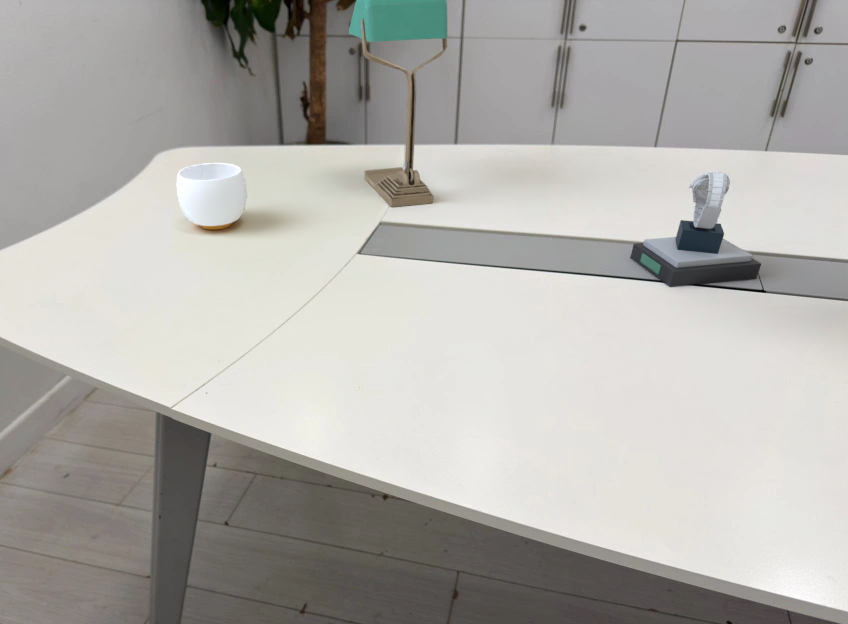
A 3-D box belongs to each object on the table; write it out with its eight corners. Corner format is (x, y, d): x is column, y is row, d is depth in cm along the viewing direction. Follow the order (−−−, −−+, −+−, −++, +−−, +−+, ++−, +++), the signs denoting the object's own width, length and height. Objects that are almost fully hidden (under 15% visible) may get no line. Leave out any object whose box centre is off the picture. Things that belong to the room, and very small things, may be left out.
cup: (191, 241, 116) (183, 185, 111) (175, 219, 126) (167, 167, 120) (258, 229, 120) (254, 175, 115) (238, 209, 130) (233, 158, 124)
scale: (710, 250, 109) (716, 230, 107) (756, 278, 100) (764, 257, 98) (628, 257, 107) (633, 237, 105) (668, 286, 98) (674, 265, 96)
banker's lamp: (372, 208, 129) (375, -2, 109) (346, 178, 146) (344, -9, 126) (450, 201, 132) (466, -5, 112) (415, 172, 148) (423, -12, 129)
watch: (713, 238, 104) (735, 167, 98) (719, 258, 98) (743, 183, 92) (673, 235, 106) (693, 164, 100) (677, 254, 99) (698, 179, 93)
